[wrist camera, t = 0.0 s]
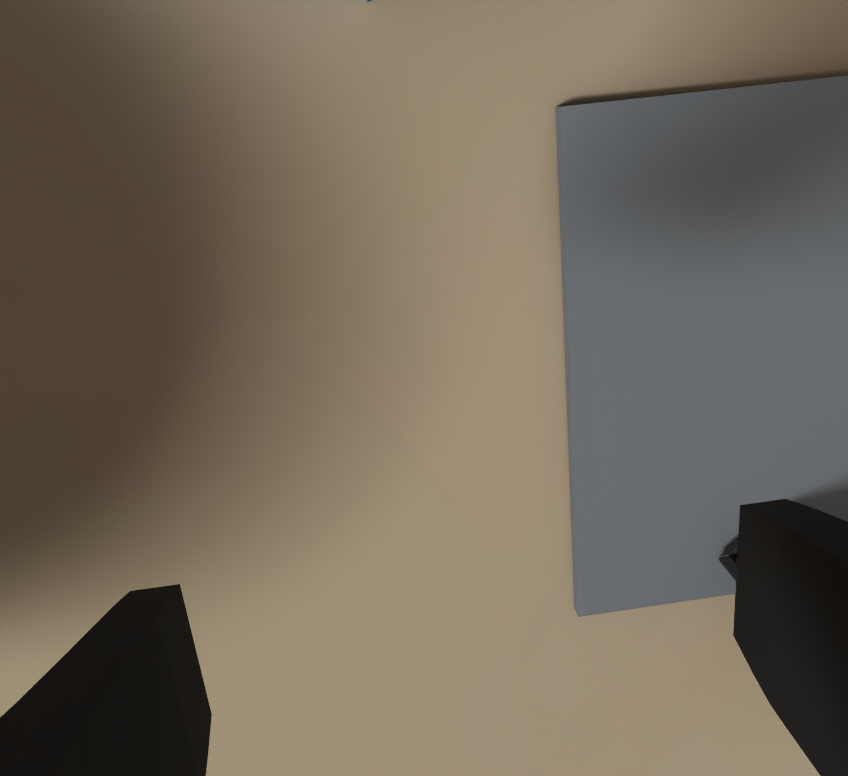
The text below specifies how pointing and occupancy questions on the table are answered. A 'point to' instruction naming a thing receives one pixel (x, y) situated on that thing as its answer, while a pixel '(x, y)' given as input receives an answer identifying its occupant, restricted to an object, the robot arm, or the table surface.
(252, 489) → the table surface
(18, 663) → the table surface
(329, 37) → the table surface
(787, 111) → the rubber mat
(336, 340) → the table surface
